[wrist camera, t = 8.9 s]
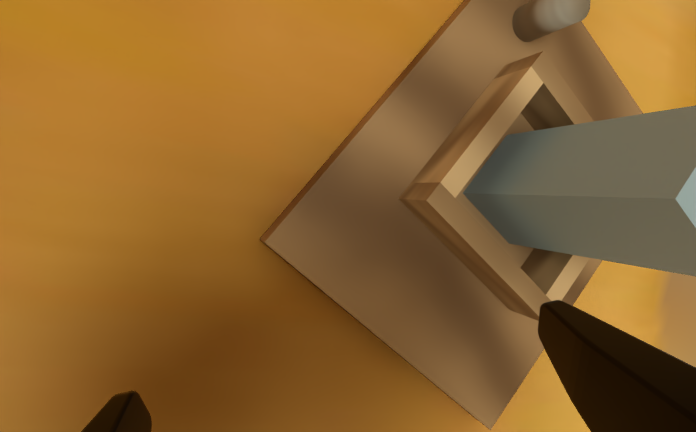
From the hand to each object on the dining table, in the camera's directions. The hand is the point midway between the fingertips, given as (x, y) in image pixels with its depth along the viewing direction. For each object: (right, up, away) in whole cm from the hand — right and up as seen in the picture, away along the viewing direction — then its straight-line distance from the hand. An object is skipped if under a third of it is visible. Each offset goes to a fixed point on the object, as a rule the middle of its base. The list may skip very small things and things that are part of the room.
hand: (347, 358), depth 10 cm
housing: (+8, +5, +14) cm, 17 cm away
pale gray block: (+8, +4, +13) cm, 16 cm away
